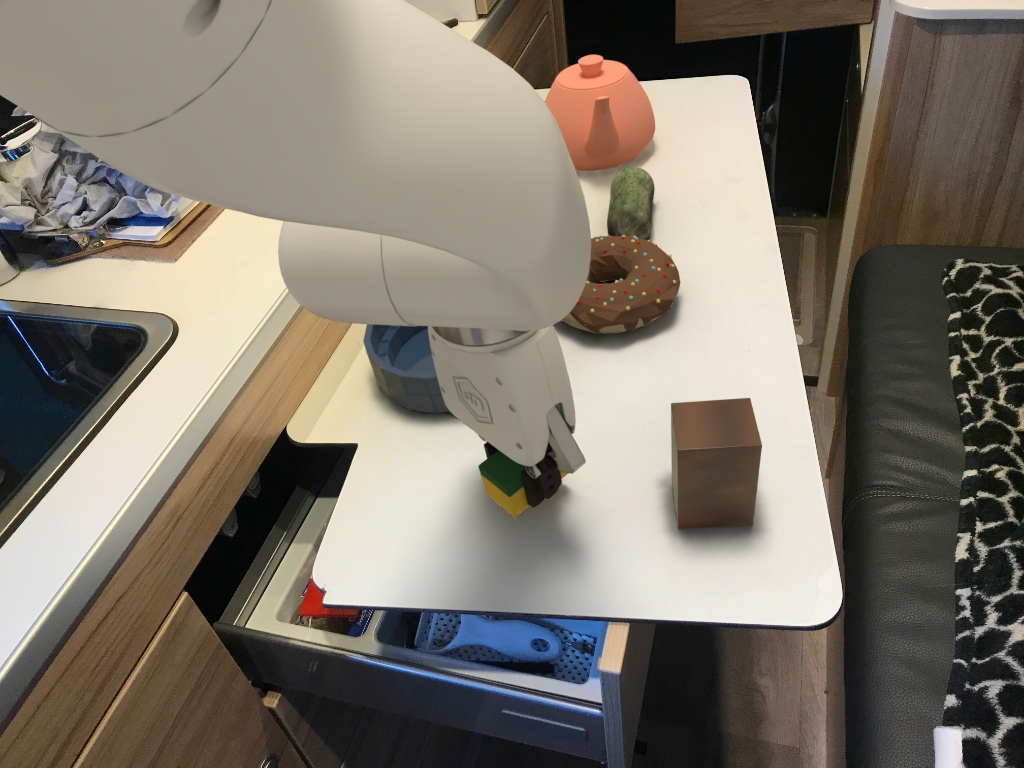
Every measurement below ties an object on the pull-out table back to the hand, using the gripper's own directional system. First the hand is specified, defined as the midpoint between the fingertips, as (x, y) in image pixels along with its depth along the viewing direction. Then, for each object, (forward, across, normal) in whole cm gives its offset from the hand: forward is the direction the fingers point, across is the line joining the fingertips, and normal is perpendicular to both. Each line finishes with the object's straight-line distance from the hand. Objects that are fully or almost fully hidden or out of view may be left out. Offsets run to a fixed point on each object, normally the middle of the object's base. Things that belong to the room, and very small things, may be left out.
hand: (526, 479), depth 59 cm
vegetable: (+3, -20, +35) cm, 40 cm away
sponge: (+1, 0, 0) cm, 1 cm away
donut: (+3, -12, +23) cm, 26 cm away
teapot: (+3, -36, +46) cm, 59 cm away
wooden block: (+2, +11, +9) cm, 14 cm away
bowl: (+2, -18, +6) cm, 20 cm away
